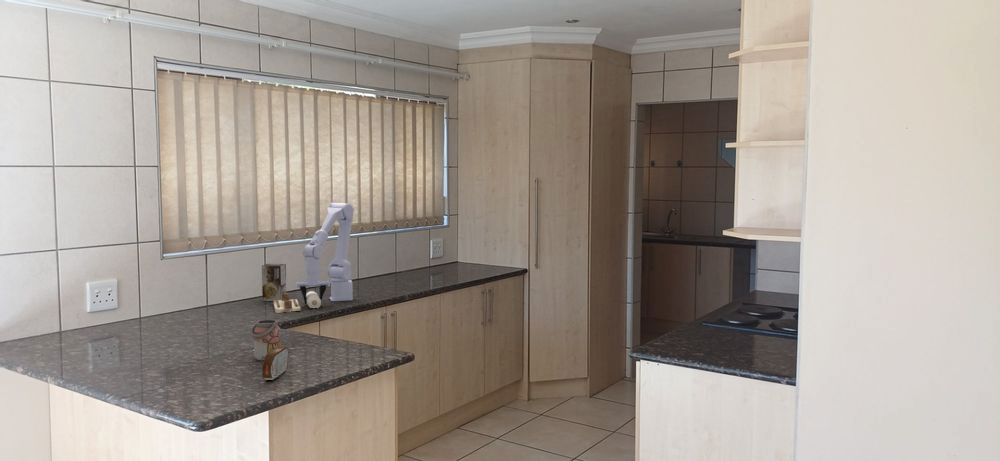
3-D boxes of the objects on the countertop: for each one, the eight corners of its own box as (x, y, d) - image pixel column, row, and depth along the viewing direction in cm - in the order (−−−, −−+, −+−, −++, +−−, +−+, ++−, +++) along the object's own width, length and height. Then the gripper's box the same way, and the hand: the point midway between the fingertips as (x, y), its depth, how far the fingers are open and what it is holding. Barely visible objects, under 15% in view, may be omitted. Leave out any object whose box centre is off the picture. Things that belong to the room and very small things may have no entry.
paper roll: (317, 303, 325) (317, 290, 324) (321, 308, 313) (321, 296, 312) (304, 303, 323) (304, 291, 322) (307, 309, 311) (307, 296, 310)
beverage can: (263, 364, 229) (262, 326, 228) (245, 359, 233) (244, 322, 232) (286, 357, 237) (285, 321, 236) (268, 353, 241) (268, 317, 240)
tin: (280, 369, 224) (280, 342, 223) (290, 369, 224) (290, 342, 223) (261, 384, 209) (260, 355, 208) (271, 384, 209) (271, 356, 208)
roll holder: (296, 302, 325) (296, 292, 325) (300, 311, 306) (300, 301, 306) (273, 303, 322) (273, 293, 321) (275, 313, 303) (275, 302, 302)
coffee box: (286, 298, 333) (286, 263, 331) (281, 301, 327) (280, 265, 325) (267, 298, 334) (267, 263, 332) (261, 300, 328) (261, 265, 326)
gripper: (296, 274, 310) (296, 305, 311) (331, 272, 315) (331, 303, 316) (294, 271, 317) (295, 302, 318) (328, 270, 322) (329, 300, 323)
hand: (312, 303), depth 318 cm, fingers closed on paper roll, 6 cm apart
